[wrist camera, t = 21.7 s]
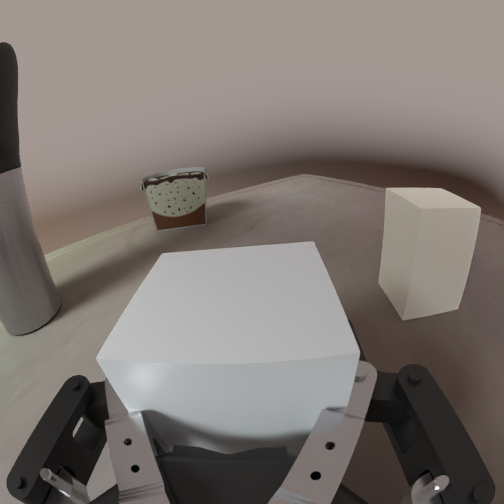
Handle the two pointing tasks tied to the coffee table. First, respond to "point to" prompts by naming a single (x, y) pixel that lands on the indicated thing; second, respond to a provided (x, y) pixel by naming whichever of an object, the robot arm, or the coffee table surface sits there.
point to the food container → (177, 198)
